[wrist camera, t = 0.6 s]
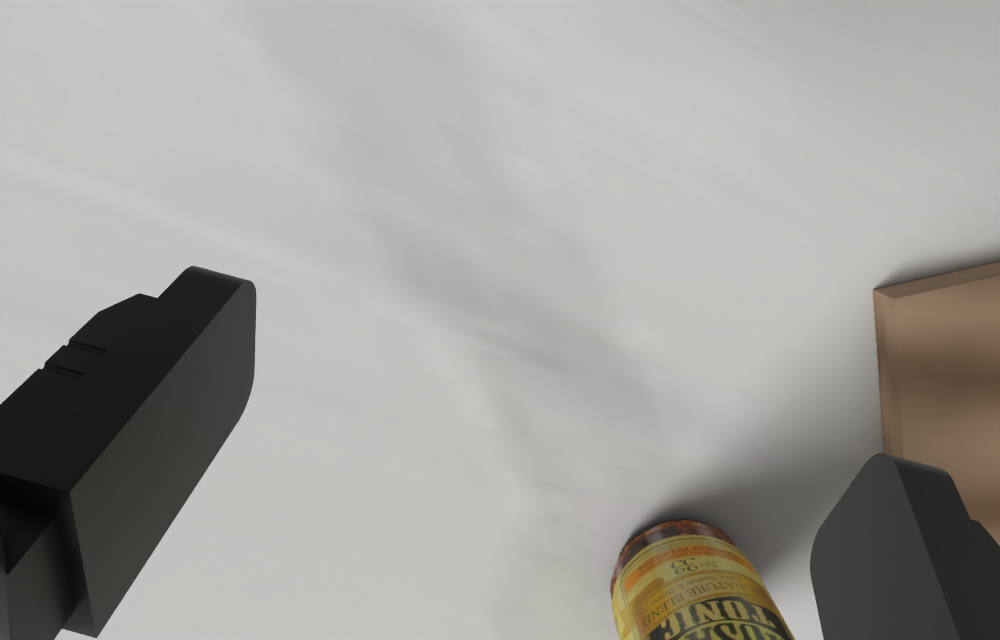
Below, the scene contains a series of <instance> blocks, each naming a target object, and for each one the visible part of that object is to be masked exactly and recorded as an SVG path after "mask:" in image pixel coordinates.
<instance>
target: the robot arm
mask: <svg viewBox="0 0 1000 640" xmlns="http://www.w3.org/2000/svg"><path fill="white" fill-rule="evenodd" d="M255 327H256V289H255V286H254V284H253V282H251V281H249V280H245V279H241V278H237V277H234V276H230V275H226V274H222V273H219V272H215V271H211V270H208V269H204V268H200V267H196V266H191V267H189V268H187V269H186V270H185V271H183V272H182V273H181V274H180V275H179V277H178V278H177V279H176V280H175V281H174V282H173V283H172V284H171V285H170V286H169V287H168V288H167V289H166V290H165V291H164V292H163V293H162V294H161V295H160V296H159V297H158V298H155V297H151V296H147V295H144V294H140V293H139V294H137V295H134V296H132V297H130V298H128V299H126V300H124V301H121V302H119V303H117V304H115V305H113V306H111V307H108V308H106V309H104V310H102V311H100V312H98V313H97V314H96V315H95V316H94V317H93V318H92V319H90V320H89V321H88V322H87V323H86V324H85V325H84V326H83V327H82V328H81V329H80V330H79V331H78V332H77V333H76V334H75V335H74V336H72V337H71V338H70V339H69V343H68V345H67V346H65V345H63V346H62V347H61V348H60V349H59V350H58V351H57V352H56V353H54V354H53V355H52V356H51V357H50V358H49V359H48V360H47V361H46V362H45V366H44V368H43V369H38V370H37V371H35V372H34V373H33V374H32V375H31V376H30V377H29V378H28V379H27V380H26V381H25V382H24V383H23V384H22V385H21V386H20V387H19V388H17V389H16V390H15V391H14V392H13V393H12V394H11V395H10V396H9V397H8V398H7V399H6V400H5V401H4V402H3V403H2V404H1V405H0V640H54V639H55V637H56V636H57V635H58V633H59V632H60V630H61V629H65V630H69V631H73V632H76V633H80V634H83V635H87V636H91V637H94V638H97V637H98V635H99V634H100V632H101V631H102V629H103V628H104V626H105V625H106V623H107V622H108V620H109V619H110V617H111V615H112V614H113V612H114V611H115V609H116V608H117V606H118V605H119V603H120V602H121V600H122V599H123V597H124V596H125V594H126V592H127V591H128V589H129V588H130V586H131V585H132V583H133V582H134V580H135V579H136V577H137V576H138V574H139V573H140V571H141V569H142V568H143V566H144V565H145V563H146V562H147V560H148V559H149V557H150V556H151V554H152V553H153V551H154V550H155V548H156V546H157V545H158V543H159V542H160V540H161V539H162V537H163V536H164V534H165V533H166V531H167V530H168V528H169V527H170V525H171V524H172V522H173V520H174V519H175V517H176V516H177V514H178V513H179V511H180V510H181V508H182V507H183V505H184V504H185V502H186V501H187V499H188V497H189V496H190V494H191V493H192V491H193V490H194V488H195V487H196V485H197V484H198V482H199V481H200V479H201V478H202V476H203V474H204V473H205V471H206V470H207V468H208V467H209V465H210V464H211V462H212V461H213V459H214V458H215V456H216V455H217V453H218V451H219V450H220V448H221V447H222V445H223V444H224V442H225V441H226V439H227V438H228V436H229V435H230V433H231V432H232V430H233V428H234V427H235V425H236V424H237V422H238V421H239V419H240V417H241V415H242V414H243V412H244V409H245V407H246V405H247V402H248V399H249V396H250V393H251V389H252V385H253V379H254V366H255ZM810 572H811V579H812V584H813V589H814V594H815V599H816V603H817V608H818V613H819V618H820V623H821V628H822V632H823V637H824V640H1000V546H999V544H998V543H997V542H996V541H995V540H994V538H993V537H992V536H991V535H990V534H989V533H988V531H987V530H986V529H985V528H984V527H983V525H982V524H981V523H980V522H979V521H975V520H972V519H970V517H969V515H968V512H967V510H966V508H965V506H964V503H963V501H962V499H961V497H960V494H959V492H958V490H957V488H956V485H955V483H954V481H953V479H952V477H951V476H950V475H949V473H948V472H946V471H945V470H944V469H941V468H937V467H934V466H930V465H926V464H922V463H919V462H915V461H911V460H908V459H904V458H900V457H896V456H893V455H889V454H885V453H879V454H876V455H874V456H873V457H871V458H870V459H869V460H868V461H867V463H866V464H865V465H864V467H863V468H862V469H861V471H860V472H859V474H858V475H857V476H856V478H855V479H854V481H853V482H852V483H851V485H850V486H849V488H848V489H847V490H846V492H845V493H844V495H843V496H842V497H841V499H840V500H839V502H838V503H837V504H836V506H835V507H834V509H833V510H832V511H831V513H830V514H829V516H828V517H827V518H826V520H825V521H824V523H823V524H822V525H821V527H820V529H819V530H818V533H817V535H816V537H815V540H814V543H813V547H812V552H811V560H810Z"/></svg>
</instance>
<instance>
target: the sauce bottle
mask: <svg viewBox="0 0 1000 640" xmlns="http://www.w3.org/2000/svg"><path fill="white" fill-rule="evenodd" d="M610 591H611V598H612V609H613V615H614V620H615V623H616V627H617V631H618V635H619V638H620V640H795V638H794V637H793V635H792V633H791V631H790V630H789V628H788V626H787V624H786V623H785V621H784V619H783V617H782V616H781V614H780V612H779V610H778V608H777V607H776V605H775V603H774V601H773V600H772V598H771V596H770V594H769V593H768V591H767V589H766V587H765V586H764V584H763V582H762V580H761V579H760V577H759V575H758V574H757V572H756V570H755V569H754V567H753V565H752V564H751V562H750V561H749V560H748V559H747V557H746V556H745V555H744V554H743V553H742V552H741V551H740V550H739V549H738V548H737V547H736V546H735V544H734V543H733V542H732V541H731V540H730V538H729V537H727V535H726V534H725V533H724V532H723V531H721V530H719V529H717V528H714V527H712V526H710V525H707V524H704V523H700V522H696V521H689V520H685V519H683V520H681V521H675V520H671V521H668V522H666V523H662V524H659V525H657V526H654V527H652V528H650V529H648V530H646V531H645V532H644V533H641V534H640V535H639V536H638V537H636V538H634V539H632V540H631V541H630V542H629V543H628V544H626V546H625V548H624V549H623V550H622V552H621V553H620V556H619V558H618V562H617V564H616V566H615V570H614V574H613V577H612V580H611V589H610Z"/></svg>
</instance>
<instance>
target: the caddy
mask: <svg viewBox="0 0 1000 640" xmlns="http://www.w3.org/2000/svg"><path fill="white" fill-rule="evenodd" d="M873 297H874V311H875V325H876V340H877V354H878V369H879V383H880V398H881V412H882V427H883V441H884V453H885V454H889V455H893V456H896V457H900V458H904V459H908V460H911V461H915V462H919V463H922V464H926V465H930V466H934V467H937V468H941V469H944V470H945V471H946V472H948V473H949V475H950V476H951V477H952V479H953V481H954V483H955V485H956V488H957V490H958V492H959V494H960V497H961V499H962V501H963V503H964V506H965V508H966V510H967V512H968V515H969V517H970V519H972V520H975V521H979V522H980V523H981V524H982V525H983V527H984V528H985V529H986V530H987V531H988V533H989V534H990V535H991V536H992V537H993V538H994V540H995V541H996V542H997V543H998V544H999V546H1000V261H999V262H995V263H990V264H986V265H981V266H977V267H972V268H968V269H963V270H959V271H954V272H950V273H945V274H941V275H936V276H932V277H928V278H923V279H919V280H914V281H910V282H905V283H901V284H896V285H892V286H887V287H883V288H878V289H874V290H873Z"/></svg>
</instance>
